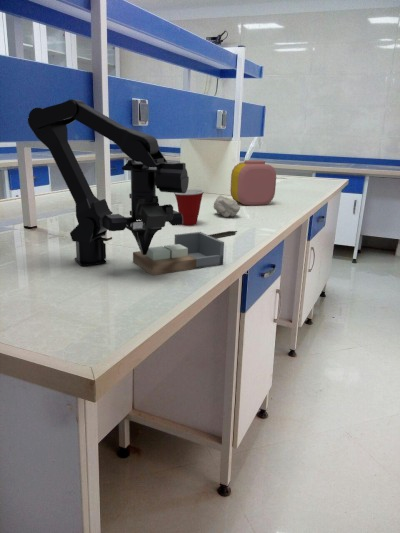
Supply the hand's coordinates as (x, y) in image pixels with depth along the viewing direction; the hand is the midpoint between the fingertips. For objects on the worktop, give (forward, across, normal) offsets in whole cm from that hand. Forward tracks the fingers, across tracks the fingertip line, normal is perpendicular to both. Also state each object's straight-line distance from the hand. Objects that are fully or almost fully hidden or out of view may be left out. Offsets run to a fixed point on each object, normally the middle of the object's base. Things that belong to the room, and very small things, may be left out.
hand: (144, 254), depth 110 cm
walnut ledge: (+4, +6, +1) cm, 7 cm away
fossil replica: (+4, +55, +48) cm, 73 cm away
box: (+4, +16, +1) cm, 16 cm away
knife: (+4, +32, +21) cm, 38 cm away
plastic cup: (+4, +34, +41) cm, 54 cm away
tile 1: (+1, +4, 0) cm, 4 cm away
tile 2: (+1, +9, 0) cm, 9 cm away
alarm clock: (+4, +82, +68) cm, 106 cm away
